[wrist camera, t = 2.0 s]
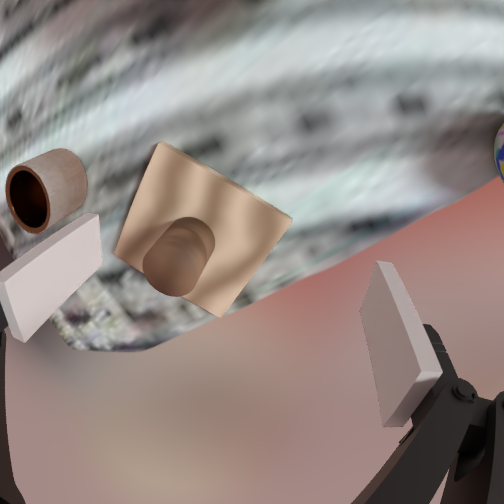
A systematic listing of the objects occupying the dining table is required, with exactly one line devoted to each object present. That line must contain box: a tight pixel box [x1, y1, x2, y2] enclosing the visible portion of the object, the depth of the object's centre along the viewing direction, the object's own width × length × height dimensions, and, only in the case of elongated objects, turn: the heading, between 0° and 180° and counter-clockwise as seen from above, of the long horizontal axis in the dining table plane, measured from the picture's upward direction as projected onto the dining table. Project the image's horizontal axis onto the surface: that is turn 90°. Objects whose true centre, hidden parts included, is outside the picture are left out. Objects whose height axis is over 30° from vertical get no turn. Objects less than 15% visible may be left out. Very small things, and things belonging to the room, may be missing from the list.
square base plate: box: [114, 141, 292, 318], centre depth 40 cm, size 20×20×10 cm
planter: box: [5, 148, 88, 234], centre depth 39 cm, size 11×11×10 cm
